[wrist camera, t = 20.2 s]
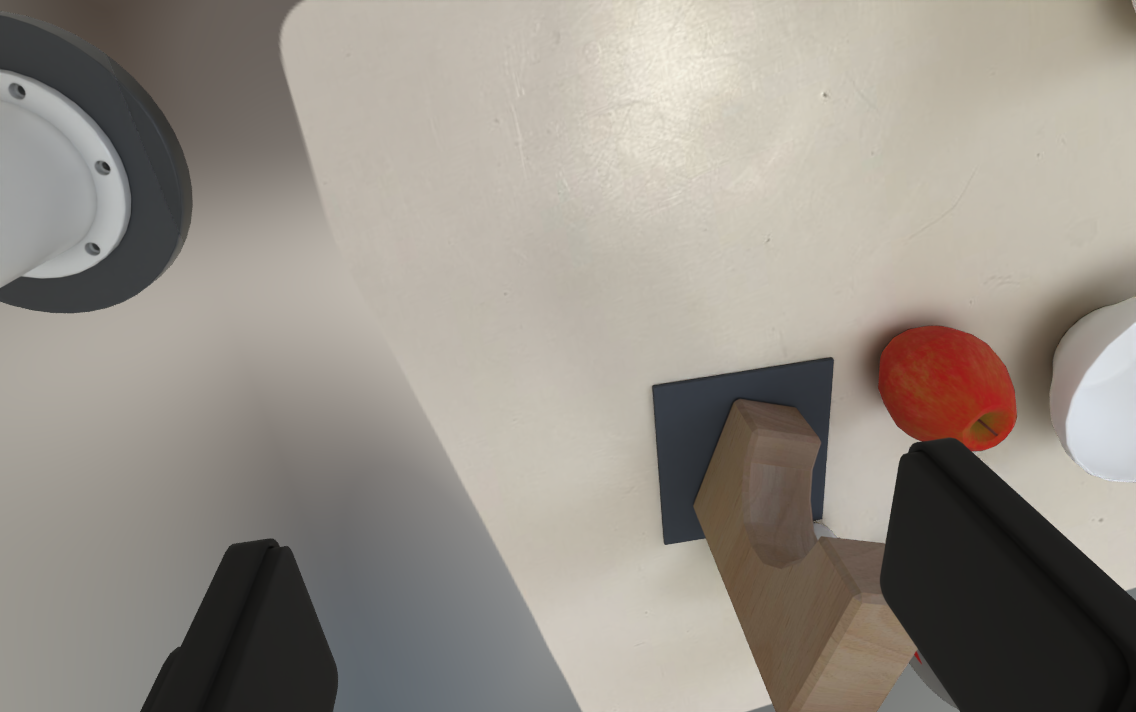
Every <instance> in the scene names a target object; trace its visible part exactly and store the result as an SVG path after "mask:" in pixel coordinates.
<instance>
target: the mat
mask: <svg viewBox="0 0 1136 712" xmlns="http://www.w3.org/2000/svg"><path fill="white" fill-rule="evenodd" d="M833 364H834V359H833V358H825V359H819V360H812V361H806V362H799V363H793V364H787V365H780V366H774V367H768V368H761V369H755V370H749V371H742V372H736V373H730V374H723V375H717V376H710V377H704V378H698V379H691V380H685V381H679V382H672V383H666V384H660V385H653V386H652V387H653V401H654V415H655V428H656V442H657V455H658V469H659V482H660V496H661V510H662V523H663V537H664V544H665V545H668V544H674V543H680V542H686V541H692V540H698V539H704V538H706V537H705V535H704V532H703V530H702V527H701V525H700V522H699V520H698V517H697V515H696V512H695V510H694V507H693V505H694V502H695V500H696V497H697V495H698V492H699V490H700V487H701V484H702V482H703V479H704V477H705V474H706V472H707V469H708V466H709V464H710V461H711V459H712V456H713V454H714V451H715V448H716V446H717V443H718V441H719V438H720V436H721V433H722V431H723V428H724V426H725V423H726V421H727V418H728V416H729V413H730V410H731V408H732V405H733V403H734V402H735V401H736V400H738V399H744V400H750V401H757V402H763V403H770V404H776V405H782V406H789V407H795V408H797V410H798V411H799V412H800V414H801V415H802V416H803V418H804V419H805V420H806V421H807V423H808V424H809V425H810V427H811V428H812V429H813V431H814V432H815V433H816V434H817V436H818V437H819V439H820V441H821V444H820V448H819V451H818V454H817V457H816V460H815V464H814V467H813V470H812V486H811V508H812V517H813V521H814V520H820V519H822V514H823V501H824V487H825V473H826V460H827V446H828V432H829V419H830V405H831V391H832V378H833Z"/></svg>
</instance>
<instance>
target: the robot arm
mask: <svg viewBox="0 0 1136 712" xmlns="http://www.w3.org/2000/svg"><path fill="white" fill-rule="evenodd" d="M22 87H23V89H24V90H25V92H24V91H23V89H22ZM106 163H107V164H108V165H109V167H110V168H108V167H107V166H106ZM130 216H131V192H130V186H129V180H128V176H127V174H126V171H125V168H124V166H123V163H122V161H121V158H120V156H119V155H118V153H117V151H116V149H115V148H114V146H113V144H112V143H111V141H110V139H109V138H108V137H107V135H106V134H105V133H104V132H103V130H102V129H101V128H100V127H99V125H98V124H97V123H96V122H95V121H94V120H93V119H92V118H91V117H90V116H89V115H88V114H87V113H86V112H85V111H84V110H83V109H81V108H80V107H79V106H78V105H77V104H76V103H75V102H73V101H72V100H70V99H69V98H67V97H66V96H64V95H63V94H62V93H60V92H59V91H57V90H56V89H54V88H52V87H50V86H48V85H46V84H44V83H42V82H40V81H38V80H36V79H34V78H31V77H28V76H25V75H22V74H19V73H15V72H12V71H8V70H2V69H0V288H1V287H3V286H4V285H6V284H8V283H10V282H11V281H13V280H15V279H17V278H18V277H20V276H23V277H33V278H59V277H65V276H69V275H73V274H77V273H80V272H82V271H84V270H86V269H88V268H90V267H92V266H94V265H96V264H97V263H99V262H100V261H102V260H103V259H105V258H106V257H107V256H108V255H109V254H110V253H111V252H112V251H113V250H114V249H115V248H116V247H117V246H118V245H119V243H120V241H121V240H122V238H123V236H124V234H125V233H126V231H127V227H128V223H129V220H130ZM97 246H98V247H97ZM880 587H881V591H882V594H883V597H884V599H885V601H886V603H887V604H888V606H889V607H890V609H891V610H892V612H893V613H894V615H895V616H896V618H897V619H898V620H899V622H900V623H901V625H902V626H903V628H904V629H905V631H906V632H907V634H908V635H909V637H910V638H911V640H912V641H913V643H914V644H915V646H916V647H917V648H918V650H919V651H920V653H921V654H922V656H923V657H924V659H925V660H926V662H927V663H928V665H929V666H930V668H931V669H932V671H933V672H934V674H935V675H936V677H937V678H938V679H939V681H940V682H941V684H942V685H943V687H944V688H945V690H946V691H947V693H948V694H949V696H950V697H951V699H952V700H953V702H954V703H955V705H956V706H957V707H958V709H959V710H960V712H1136V600H1134V599H1133V598H1132V597H1131V596H1130V595H1129V594H1128V593H1127V592H1126V591H1125V590H1123V589H1122V588H1121V587H1120V586H1119V585H1118V584H1117V583H1116V582H1115V581H1114V580H1112V579H1111V578H1110V577H1109V576H1108V575H1107V574H1106V573H1105V572H1104V571H1103V570H1101V569H1100V568H1099V567H1098V566H1097V565H1096V564H1095V563H1094V562H1093V561H1092V560H1090V559H1089V558H1088V557H1087V556H1086V555H1085V554H1084V553H1083V552H1082V551H1081V550H1079V549H1078V548H1077V547H1076V546H1075V545H1074V544H1073V543H1072V542H1071V541H1070V540H1068V539H1067V538H1066V537H1065V536H1064V535H1063V534H1062V533H1061V532H1060V531H1059V530H1057V529H1056V528H1055V527H1054V526H1053V525H1052V524H1051V523H1050V522H1049V521H1048V520H1046V519H1045V518H1044V517H1043V516H1042V515H1041V514H1040V513H1039V512H1038V511H1036V510H1035V509H1034V508H1033V507H1032V506H1031V505H1030V504H1029V503H1028V502H1027V501H1025V500H1024V499H1023V498H1022V497H1021V496H1020V495H1019V494H1018V493H1017V492H1016V491H1014V490H1013V489H1012V488H1011V487H1010V486H1009V485H1008V484H1007V483H1006V482H1005V481H1003V480H1002V479H1001V478H1000V477H999V476H998V475H997V474H996V473H995V472H994V471H992V470H991V469H990V468H989V467H988V466H987V465H986V464H985V463H984V462H983V461H981V460H980V459H979V458H978V457H977V456H976V455H975V454H974V453H973V452H972V451H970V450H969V449H968V448H967V447H966V446H965V445H964V444H963V443H962V442H960V441H959V440H957V439H956V438H951V437H949V438H943V439H936V440H929V441H922V442H917V443H914V444H912V446H911V447H910V449H909V452H908V453H906V454H903V455H902V457H901V458H900V461H899V467H898V473H897V479H896V485H895V491H894V496H893V502H892V508H891V514H890V520H889V526H888V532H887V538H886V544H885V550H884V555H883V561H882V567H881V573H880ZM337 688H338V673H337V667H336V664H335V661H334V658H333V656H332V653H331V651H330V648H329V646H328V643H327V640H326V638H325V635H324V632H323V630H322V628H321V625H320V622H319V620H318V617H317V614H316V612H315V609H314V607H313V604H312V602H311V599H310V596H309V594H308V591H307V589H306V586H305V583H304V581H303V578H302V576H301V573H300V571H299V568H298V565H297V563H296V560H295V558H294V555H293V553H292V551H291V549H290V548H289V547H288V546H284V547H280V546H279V544H278V542H276V540H274V539H263V540H257V541H250V542H243V543H236V544H232V545H231V546H229V548H228V549H227V551H226V552H225V554H224V557H223V559H222V561H221V563H220V565H219V567H218V569H217V571H216V573H215V575H214V577H213V580H212V582H211V584H210V586H209V588H208V590H207V592H206V594H205V597H204V598H203V601H202V603H201V605H200V607H199V609H198V611H197V613H196V615H195V617H194V620H193V622H192V624H191V626H190V628H189V630H188V632H187V634H186V636H185V639H184V641H183V643H182V645H181V647H177V648H176V649H175V650H174V651H173V652H172V653H170V655H169V656H168V658H167V659H166V661H165V663H164V664H163V666H162V668H161V670H160V672H159V674H158V676H157V678H156V680H155V683H154V684H153V686H152V689H151V691H150V693H149V695H148V697H147V699H146V701H145V703H144V705H143V707H142V709H141V711H140V712H333V708H334V703H335V699H336V694H337Z"/></svg>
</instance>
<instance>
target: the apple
mask: <svg viewBox="0 0 1136 712" xmlns="http://www.w3.org/2000/svg"><path fill="white" fill-rule="evenodd" d="M878 389H879V392H880V394H881V397H882V400H883V403H884V405H885V406H886V408H887V410H888V412H889V413H890V415H891V417H892V418H893V420H894V422H895V423H896V425H897V426H898V427H899V428H900V429H902V430H903V431H904V432H905V433H906V434H908V435H909V436H911V437H913V438H915V439H917V440H919V441H929V440H936V439H943V438H949V437H951V438H956V439H957V440H959V441H960V442H962V443H963V444H964V445H965V446H966V447H967V448H968V449H969V450H970V451H983V450H986V449H989V448H991V447H994V446H996V445H998V444H999V443H1000V442H1001V441H1003V440H1004V439H1005V438H1006V437H1007V436H1008V434H1009V433H1010V432H1011V431H1012V429H1013V427H1014V425H1015V422H1016V418H1017V409H1016V399H1015V390H1014V387H1013V384H1012V381H1011V379H1010V376H1009V373H1008V371H1007V368H1006V366H1005V365H1004V363H1003V362H1002V361H1001V359H1000V358H999V357H998V356H997V355H996V353H995V352H994V351H993V350H992V349H991V347H990V346H989V345H988V344H987V343H985V342H983V341H982V340H980V339H979V338H977V337H976V336H974V335H972V334H969V333H965V332H962V331H959V330H956V329H953V328H949V327H943V326H925V327H919V328H912V329H908V330H906V331H905V332H903V333H901V334H899V335H897V336H896V337H894V338H893V339H892V340H891V341H890V343H889V344H888V345H887V346H886V348H885V349H884V350H883V351H882V354H881V357H880V367H879V383H878Z"/></svg>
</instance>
